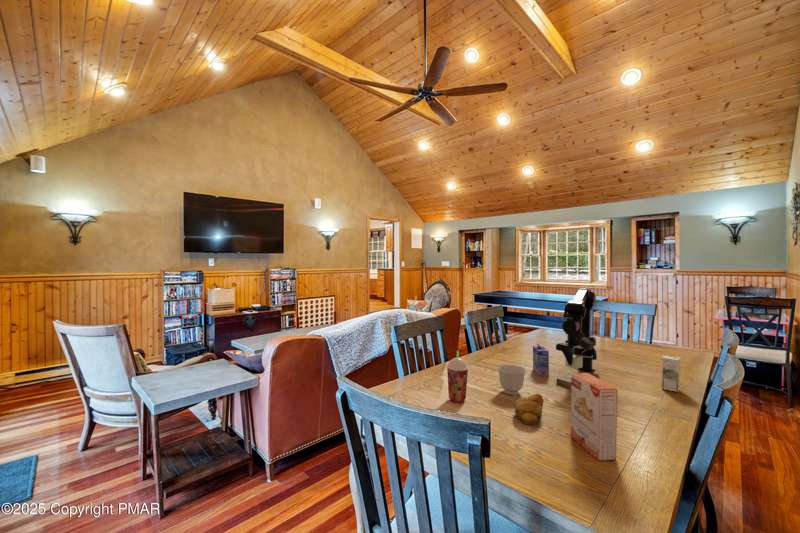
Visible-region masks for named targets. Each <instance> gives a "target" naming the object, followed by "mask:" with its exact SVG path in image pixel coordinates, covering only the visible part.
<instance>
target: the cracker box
mask: <svg viewBox="0 0 800 533" xmlns="http://www.w3.org/2000/svg"><path fill="white" fill-rule="evenodd" d="M571 375H572V384H571V389H570V390H571V392H570V395H571V398H570V401H571V403H570V437H571V438H572V439H573V440H574V441H576V442H577V443H578V445H580V446H581V447H582V448H583V449H584V450H586V451H587V453H588V454H590V455H591V456H592V457H593V458H594V459H595V460H596V461H598V462H599V461H600V462H602V461H616V460H617V440H618V439H617V436H618V434H617V430H618V429H617V427H618V426H617V425H618V388H616V387H614V386H613V385H611V384H609V383H607V382H605V381H603V380H601V379H600V378H598V377H597V376H594V375H593V374H590V372H574V373H571Z"/></svg>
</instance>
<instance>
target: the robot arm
mask: <svg viewBox="0 0 800 533" xmlns="http://www.w3.org/2000/svg"><path fill="white" fill-rule="evenodd" d="M596 302H597V295H596V293H595V292H593V291H591V290H590V289H589V288H586V287H585V288H583V287H582V288H581V287H579V288H577V290H576V292H575V296H574V297H573V299H571V300H568V301H567V302H566V304H565V305H564V311H563V315H562V316H563V317H562V318H564V319H566V320H565V321H563V323H562V325H561V326H562V327H561V328H562V330H563V332H564V333H565V335H566V336H567V337H566V338H567V340H564V341H565V342H560V343H559V342H558V343H557V344H555V350H556V351H560V352H562V353H563V356H564V357H565V361H566V360H567V362H568V364H569V365H572V360H573V354H576V355H580V356H583V367H582V368H578V369H577V370H579V371H582V372H585V373H591V372H593V371H596V368H593V361H595V360H598V359H597V358H598V355H597V350H596V348H595V346H597V341H596V340H597V339H596V337H593V336H591V324H592V323H591V319H592V318H591V317H592V316H591V315H592V309H593V308H594V307H595V306H596V305H595V304H596Z"/></svg>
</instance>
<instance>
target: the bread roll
mask: <svg viewBox="0 0 800 533" xmlns="http://www.w3.org/2000/svg"><path fill="white" fill-rule="evenodd" d="M544 401H545V400H544V397H543V396H542V395H541V394H539V393H533V394H531V395H529V396H528V397H526V396H523V397H520V398H517V400H515V403H514V412H515V416H516V417H517V418H518V419H520V420H521V421H522V423H525V424H527V425H535V424H536V423H537V421H539V420H540V419H541V418H542V415H543V414H542V412H543V407H544Z"/></svg>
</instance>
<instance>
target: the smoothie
mask: <svg viewBox="0 0 800 533" xmlns="http://www.w3.org/2000/svg"><path fill="white" fill-rule="evenodd" d="M459 355H460V354H459V350H456V357H454V358H452V359H451V360H449V361H448V362H449V363H448V364H447V365H446V368H447V370H446V371H447V388H448V398H449V401H450V402H451V403H454V404H463V403H464V402H465V400H466V399H467V388H468V375H469V373H468V371H469V366H468V365H467V363H466V360H464V359H463V358H460V357H459Z"/></svg>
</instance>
